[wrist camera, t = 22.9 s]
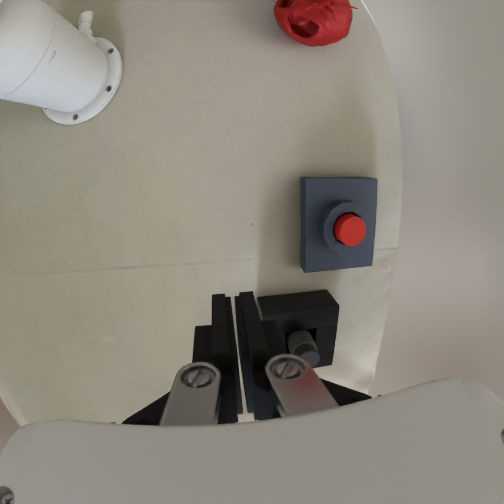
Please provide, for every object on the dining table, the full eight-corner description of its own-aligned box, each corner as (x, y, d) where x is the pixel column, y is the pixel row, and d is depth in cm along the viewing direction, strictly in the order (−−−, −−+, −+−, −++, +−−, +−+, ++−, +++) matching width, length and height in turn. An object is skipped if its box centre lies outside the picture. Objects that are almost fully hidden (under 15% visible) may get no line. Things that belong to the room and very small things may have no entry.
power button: (334, 214, 33) (340, 217, 32) (360, 213, 34) (367, 216, 32) (333, 243, 35) (339, 247, 33) (359, 241, 35) (365, 245, 33)
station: (300, 177, 35) (310, 179, 31) (369, 177, 36) (384, 180, 32) (300, 266, 39) (308, 278, 35) (365, 260, 40) (378, 270, 36)
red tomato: (325, -6, 27) (350, -37, 18) (350, 49, 30) (384, 26, 21) (259, -1, 27) (271, -37, 18) (283, 58, 30) (304, 30, 21)
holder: (256, 296, 40) (262, 315, 35) (326, 289, 41) (339, 305, 36) (258, 354, 43) (263, 375, 38) (321, 345, 44) (331, 364, 39)
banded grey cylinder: (280, 314, 41) (295, 352, 33) (302, 312, 41) (322, 347, 33) (280, 333, 42) (294, 372, 34) (301, 331, 42) (320, 368, 34)
